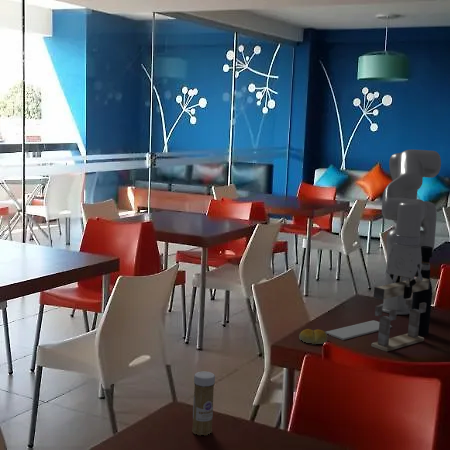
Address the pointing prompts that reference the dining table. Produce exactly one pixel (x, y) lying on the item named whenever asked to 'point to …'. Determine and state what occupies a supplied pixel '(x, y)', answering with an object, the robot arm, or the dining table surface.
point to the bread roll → (313, 336)
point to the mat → (355, 330)
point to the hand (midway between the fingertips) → (402, 296)
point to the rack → (402, 340)
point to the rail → (399, 289)
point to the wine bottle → (424, 293)
